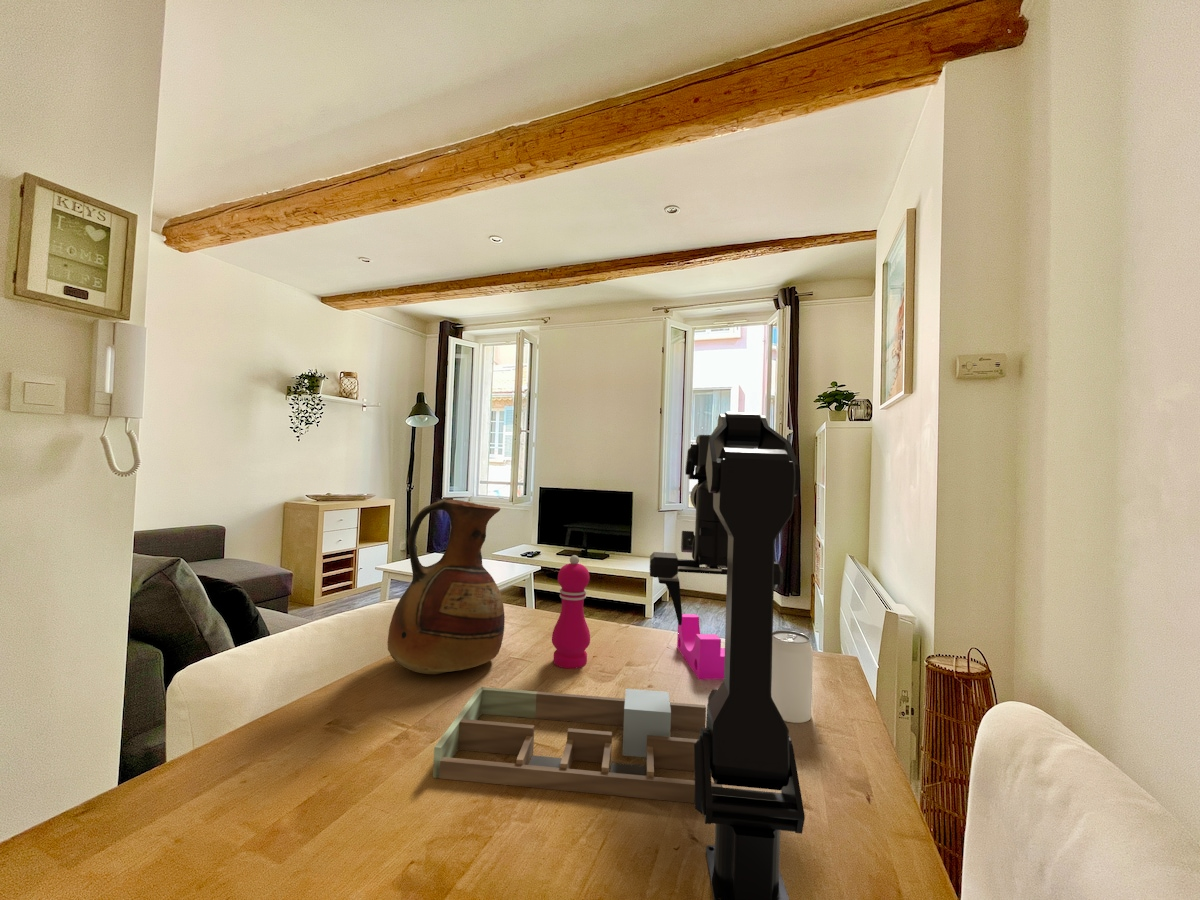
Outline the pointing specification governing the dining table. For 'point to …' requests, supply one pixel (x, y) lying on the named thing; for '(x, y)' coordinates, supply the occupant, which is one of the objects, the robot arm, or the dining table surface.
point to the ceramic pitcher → (449, 599)
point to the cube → (644, 719)
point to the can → (792, 675)
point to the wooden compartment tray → (566, 746)
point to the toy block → (700, 649)
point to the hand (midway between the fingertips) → (711, 626)
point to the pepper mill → (571, 617)
